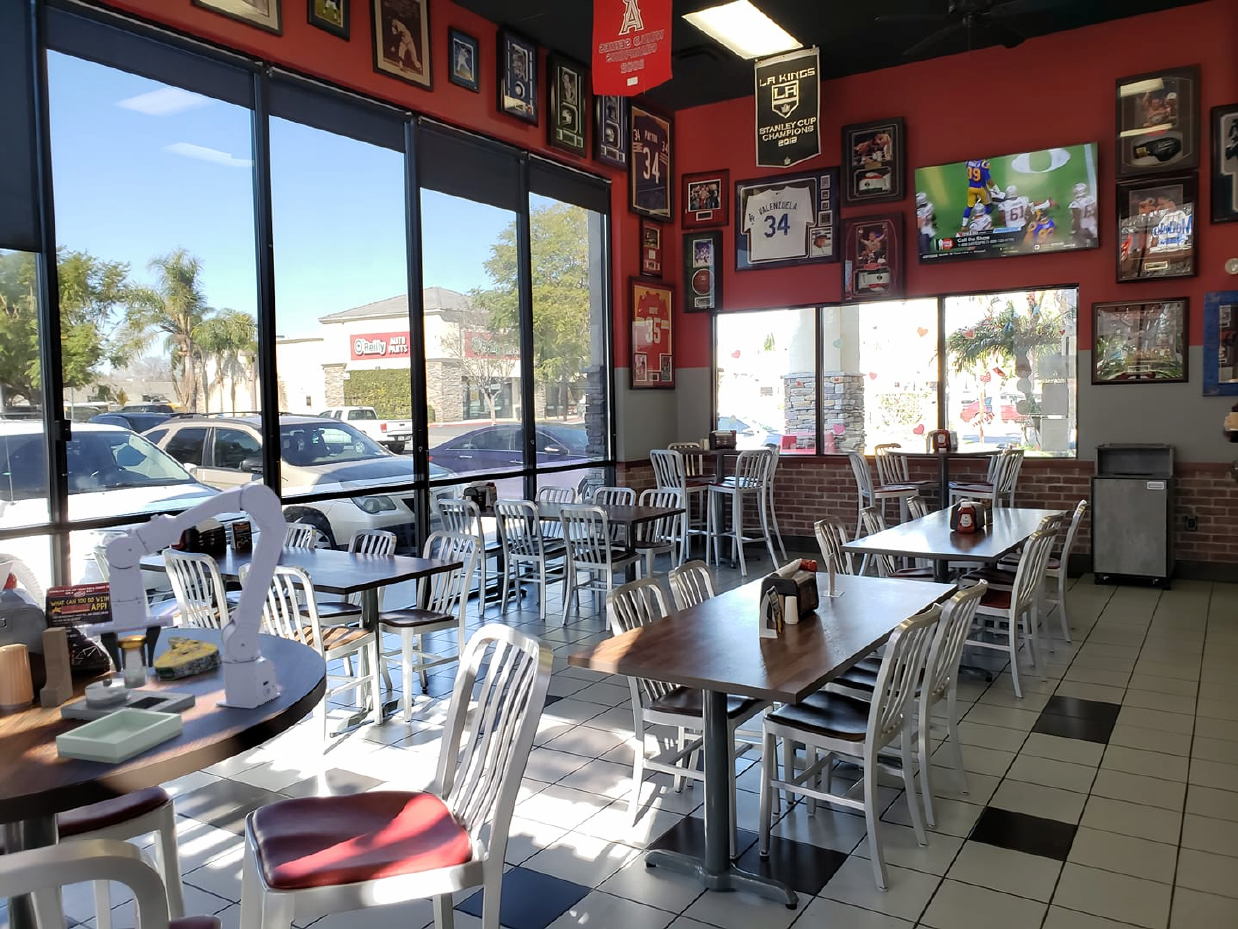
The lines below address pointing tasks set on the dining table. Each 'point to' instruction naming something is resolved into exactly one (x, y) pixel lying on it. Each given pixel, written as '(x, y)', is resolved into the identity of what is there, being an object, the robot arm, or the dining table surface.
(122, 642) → the pin
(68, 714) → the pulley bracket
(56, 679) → the wooden block
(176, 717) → the tray
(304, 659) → the dining table surface
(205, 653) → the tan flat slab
